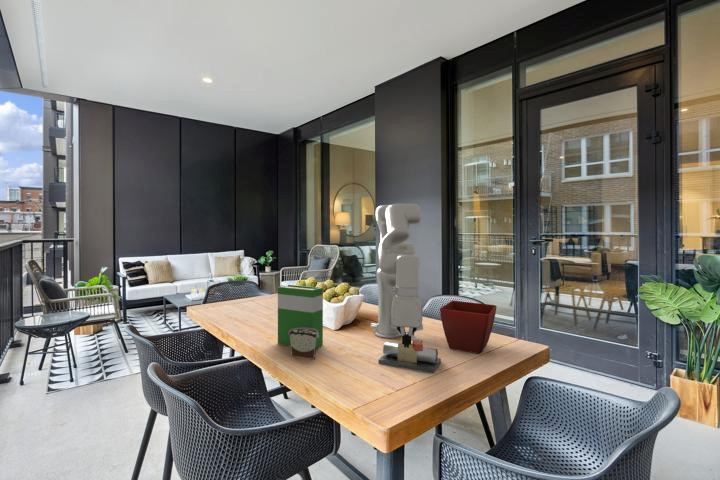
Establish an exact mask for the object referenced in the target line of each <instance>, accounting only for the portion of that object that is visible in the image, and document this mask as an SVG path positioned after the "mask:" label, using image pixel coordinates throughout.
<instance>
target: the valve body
mask: <svg viewBox="0 0 720 480" xmlns="http://www.w3.org/2000/svg"><path fill="white" fill-rule="evenodd" d="M417 340H420V341H421V343H422V344H423V339H418V338H417ZM438 352H439V351H438V348H433V347H428V346H427V347H425V346H423V351H414V349H413V348H412V344H411V345H409V348H407V346H406V348H404V344H402V338H401V339H400V340H399V341H397V342H395V341H394V342H393V341H385V342H384V343H383V346H382V353H383V355H382V356H381V357H379V358H378V364H379V365H384V366H389V367H390V366H391V367H396V368H400V369H401V368H402V369H408V370H412V371H419V372H423V373H429V374H435V372H436V371H437V369H438V368H439V367H440V365H441V364H442V358H439V357H438V355H439V353H438Z"/></svg>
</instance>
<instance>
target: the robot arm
mask: <svg viewBox="0 0 720 480" xmlns="http://www.w3.org/2000/svg"><path fill="white" fill-rule="evenodd" d="M422 217H423V212H422V209H421V207H420V206H419V204H418V203H417V204H416V203H393V204H383V205H379V206H378V207H376V209H375V220H376V223H377V226H378V229H379V231H380V232H379V234H380V241H379V245H378V250H377V255H378V267H379V268H378V269H377V271H376V280H377V281H376V282H377V290H378V291H377V292H378V293H377V294H378V299H377V300H378V305H377V306H378V307H377V308H378V309H377V310H378V311H377V312H378V316H377V317H378V318H377V320H378V321H377V323H374V322H371V323H370V329H375V330H374V335H375V336H377V337H379V338H384V339H394V338H395V339H396V338H400V337H402V338H401V339H402V344H404V348H406V346H407V348H409V345H411V335H412V334H413V333H414V334H415V333H416V332H417V331H422V330H424V326H423V325H424V324H423V303H422V297H421V295H419V294H420V293H419V290H420V289H419V283H420V281H419V280H420V275H419V272H420V263H421V262H420V258H419V257H418V255H417V254H416V248H415V245H414V244H413V243H411V242H406V241H407V240H409V238H410V237H411V230H410V226H412V225H414V226H417V225H419V224H420V223H421V222H422V220H423V219H422ZM406 328H408V331H406ZM406 332H408V334H406Z"/></svg>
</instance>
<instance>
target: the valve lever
mask: <svg viewBox="0 0 720 480" xmlns="http://www.w3.org/2000/svg"><path fill="white" fill-rule="evenodd" d="M405 332H406V334H408V332H409V331H405ZM417 339H418V338H417V337H416V336H415V332H414V333H413V334H412V335H411V344H412V348H413V349H414V351H423V347H424V344H423V342H422V343H421V341H420V340H421V339H420V340H417Z"/></svg>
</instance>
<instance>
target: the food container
mask: <svg viewBox="0 0 720 480" xmlns="http://www.w3.org/2000/svg"><path fill="white" fill-rule="evenodd" d="M288 335H290V344H291V346H290V352H291V354H290V355H291V357H293V358H299V357H300V358H302V359H308V360H315V359H316V356H317V355H316V354H317V348H316V346H317V339H318V338H319V333H318V330H316V329H314V328H307V327H302V328H294V329H291V330H289V333H288Z"/></svg>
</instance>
